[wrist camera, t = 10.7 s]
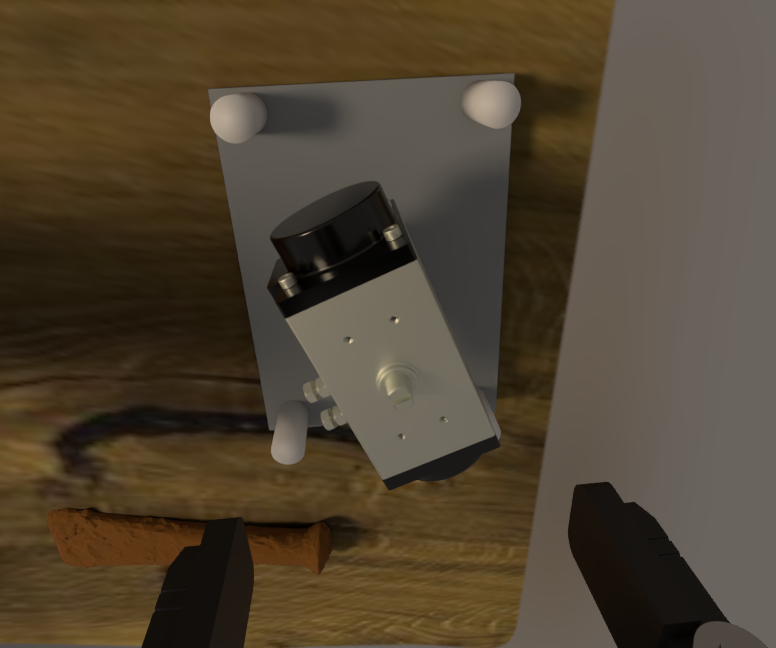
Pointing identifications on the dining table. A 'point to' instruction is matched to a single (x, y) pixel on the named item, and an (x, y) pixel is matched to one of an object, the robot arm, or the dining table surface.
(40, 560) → the dining table surface
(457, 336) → the peg board
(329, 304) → the pneumatic valve
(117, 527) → the primitive tool
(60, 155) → the dining table surface
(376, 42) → the dining table surface
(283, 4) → the dining table surface
